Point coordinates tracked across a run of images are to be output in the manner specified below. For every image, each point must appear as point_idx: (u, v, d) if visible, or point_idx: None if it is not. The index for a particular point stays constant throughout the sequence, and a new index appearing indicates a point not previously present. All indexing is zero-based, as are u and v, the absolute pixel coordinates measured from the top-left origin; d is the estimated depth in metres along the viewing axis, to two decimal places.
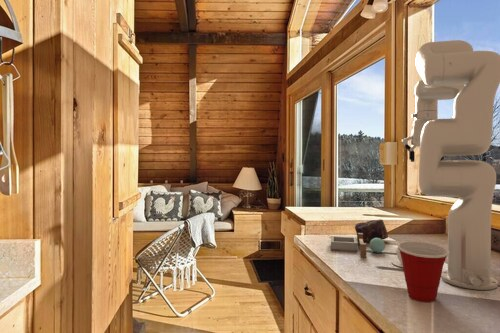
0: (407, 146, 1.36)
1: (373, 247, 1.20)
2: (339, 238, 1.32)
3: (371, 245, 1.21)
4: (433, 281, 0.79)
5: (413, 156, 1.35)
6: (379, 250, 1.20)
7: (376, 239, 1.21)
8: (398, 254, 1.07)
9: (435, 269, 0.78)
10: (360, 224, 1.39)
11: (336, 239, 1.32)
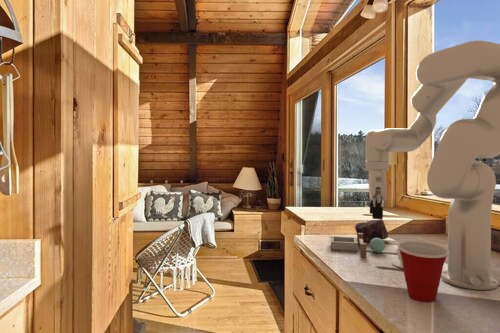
0: None
1: (373, 247, 1.20)
2: (339, 238, 1.32)
3: (371, 245, 1.21)
4: (433, 281, 0.79)
5: None
6: (379, 250, 1.20)
7: (376, 239, 1.21)
8: (399, 255, 1.06)
9: (435, 269, 0.78)
10: (360, 224, 1.39)
11: (336, 239, 1.32)
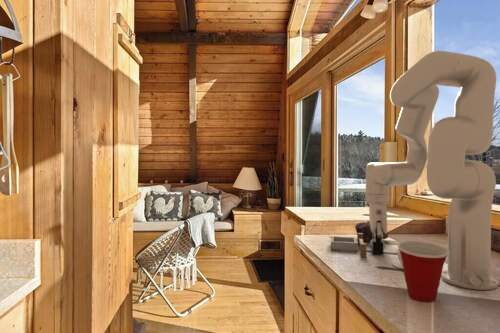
0: None
1: None
2: (339, 238, 1.32)
3: (371, 245, 1.21)
4: (433, 281, 0.79)
5: (382, 248, 1.19)
6: None
7: None
8: (399, 256, 1.06)
9: (435, 269, 0.78)
10: (360, 224, 1.39)
11: (336, 239, 1.32)
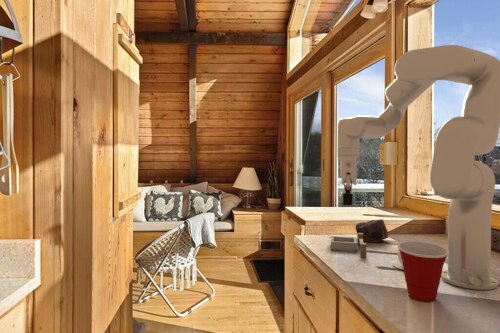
0: (350, 189, 1.22)
1: None
2: (339, 238, 1.32)
3: (342, 197, 1.26)
4: (433, 281, 0.79)
5: None
6: None
7: None
8: (399, 256, 1.05)
9: (435, 269, 0.78)
10: (360, 224, 1.39)
11: (336, 239, 1.32)
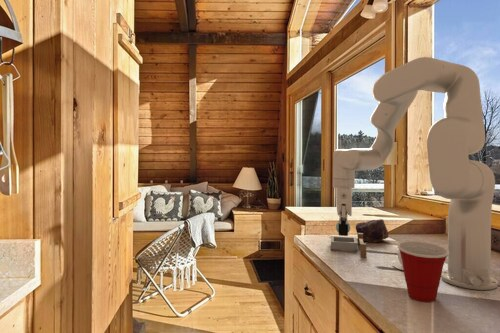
0: (346, 220, 1.23)
1: None
2: (339, 238, 1.32)
3: (337, 227, 1.27)
4: (433, 281, 0.79)
5: (347, 230, 1.25)
6: None
7: None
8: (400, 257, 1.04)
9: (435, 269, 0.78)
10: (361, 224, 1.39)
11: (336, 239, 1.32)
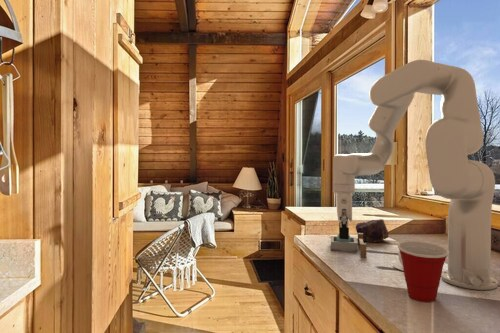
0: (346, 223, 1.21)
1: (340, 241, 1.26)
2: None
3: (338, 239, 1.27)
4: (433, 281, 0.79)
5: (348, 233, 1.23)
6: None
7: None
8: (400, 257, 1.04)
9: (435, 269, 0.78)
10: (361, 224, 1.39)
11: (336, 239, 1.32)
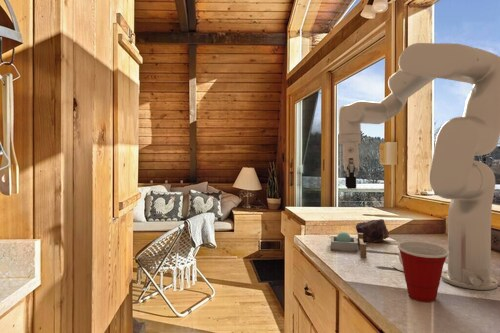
0: (354, 171, 1.20)
1: (340, 240, 1.26)
2: None
3: (338, 239, 1.27)
4: (433, 281, 0.79)
5: (355, 182, 1.22)
6: None
7: (342, 233, 1.27)
8: None
9: (435, 269, 0.78)
10: (361, 224, 1.39)
11: (336, 239, 1.32)
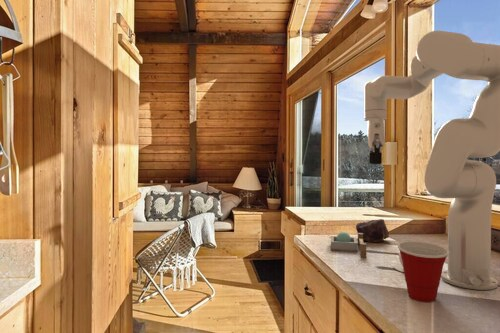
0: None
1: (339, 240, 1.27)
2: None
3: (338, 239, 1.27)
4: (433, 281, 0.79)
5: None
6: None
7: (342, 233, 1.27)
8: (401, 259, 1.02)
9: (435, 269, 0.78)
10: (361, 224, 1.39)
11: (336, 239, 1.32)
